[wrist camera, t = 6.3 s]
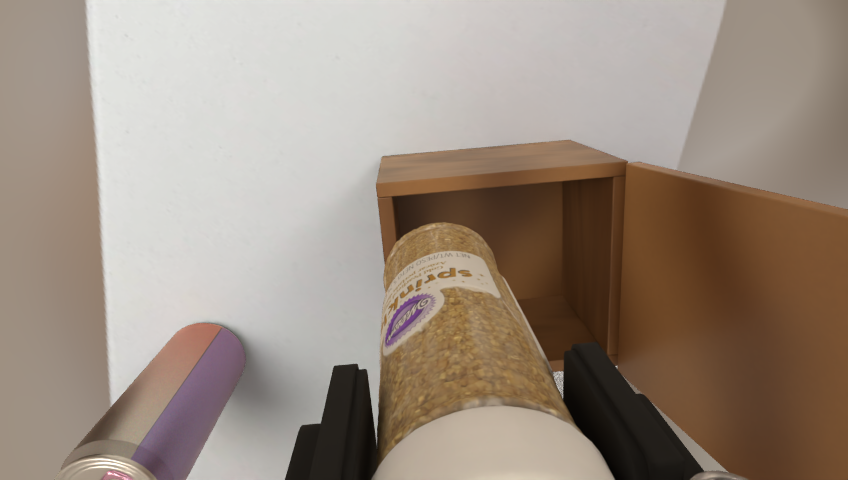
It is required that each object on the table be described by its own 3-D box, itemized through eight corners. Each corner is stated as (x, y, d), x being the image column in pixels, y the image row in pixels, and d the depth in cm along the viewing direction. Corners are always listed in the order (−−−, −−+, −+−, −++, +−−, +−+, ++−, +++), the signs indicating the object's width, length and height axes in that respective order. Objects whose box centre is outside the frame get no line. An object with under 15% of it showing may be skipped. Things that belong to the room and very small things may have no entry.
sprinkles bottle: (420, 198, 19) (464, 436, 6) (518, 255, 20) (726, 564, 7) (361, 293, 20) (299, 659, 8) (457, 344, 21) (545, 746, 8)
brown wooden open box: (398, 315, 40) (398, 387, 31) (381, 156, 36) (375, 183, 27) (568, 299, 40) (619, 365, 31) (570, 139, 36) (628, 161, 27)
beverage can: (260, 339, 40) (184, 484, 26) (229, 396, 42) (140, 562, 27) (189, 306, 39) (68, 437, 25) (159, 365, 40) (28, 522, 26)
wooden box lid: (862, 595, 17) (980, 555, 18) (951, 241, 13) (1096, 215, 14) (616, 371, 31) (692, 355, 32) (625, 163, 27) (711, 152, 28)
